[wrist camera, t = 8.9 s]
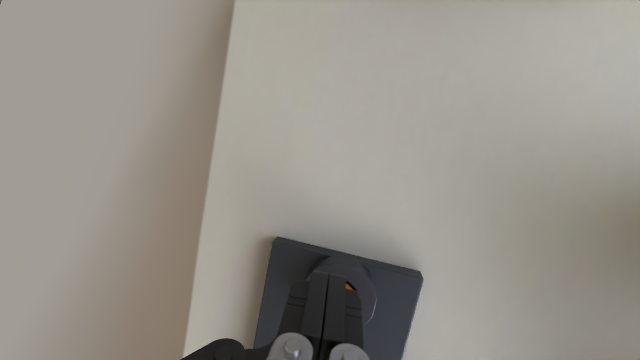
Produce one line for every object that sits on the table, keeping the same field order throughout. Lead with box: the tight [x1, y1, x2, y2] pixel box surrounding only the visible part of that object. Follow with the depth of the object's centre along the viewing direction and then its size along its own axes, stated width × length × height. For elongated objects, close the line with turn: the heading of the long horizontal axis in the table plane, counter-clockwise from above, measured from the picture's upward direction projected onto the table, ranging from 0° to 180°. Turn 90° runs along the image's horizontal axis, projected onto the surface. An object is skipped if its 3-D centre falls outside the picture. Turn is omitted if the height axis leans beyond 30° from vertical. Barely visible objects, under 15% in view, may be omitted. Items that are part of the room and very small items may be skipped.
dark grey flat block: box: [253, 237, 423, 360], centre depth 24 cm, size 15×12×3 cm
